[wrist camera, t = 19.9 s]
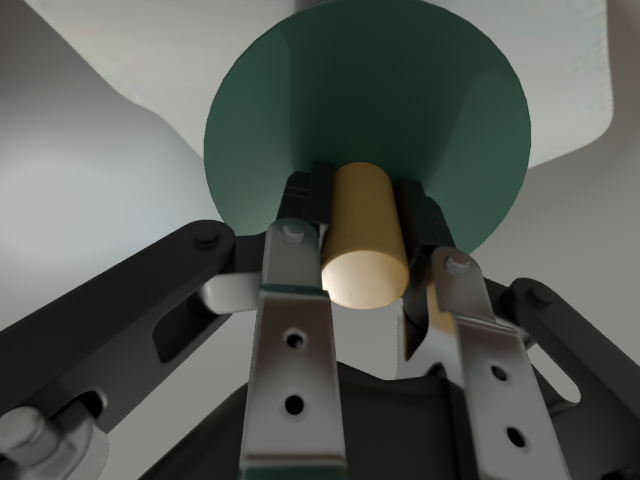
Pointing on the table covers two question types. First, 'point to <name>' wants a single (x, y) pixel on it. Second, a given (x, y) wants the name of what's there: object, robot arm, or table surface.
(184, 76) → the table surface
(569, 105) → the table surface
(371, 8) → the lid
